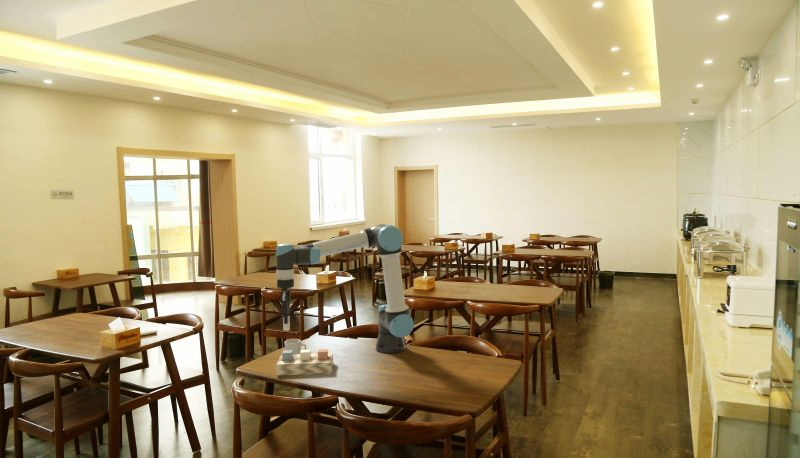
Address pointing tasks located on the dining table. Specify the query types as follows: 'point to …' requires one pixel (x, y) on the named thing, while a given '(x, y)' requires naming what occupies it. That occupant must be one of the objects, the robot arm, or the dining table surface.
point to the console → (304, 365)
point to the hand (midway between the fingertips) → (286, 330)
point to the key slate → (287, 355)
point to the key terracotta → (322, 354)
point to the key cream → (305, 355)
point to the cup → (294, 345)
